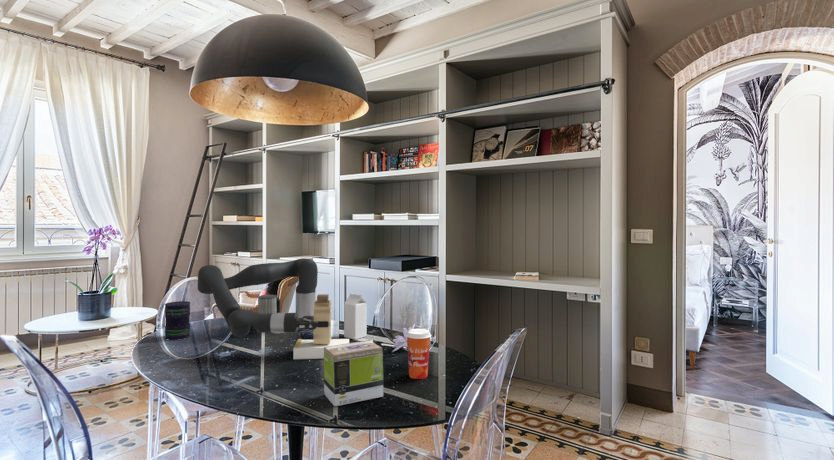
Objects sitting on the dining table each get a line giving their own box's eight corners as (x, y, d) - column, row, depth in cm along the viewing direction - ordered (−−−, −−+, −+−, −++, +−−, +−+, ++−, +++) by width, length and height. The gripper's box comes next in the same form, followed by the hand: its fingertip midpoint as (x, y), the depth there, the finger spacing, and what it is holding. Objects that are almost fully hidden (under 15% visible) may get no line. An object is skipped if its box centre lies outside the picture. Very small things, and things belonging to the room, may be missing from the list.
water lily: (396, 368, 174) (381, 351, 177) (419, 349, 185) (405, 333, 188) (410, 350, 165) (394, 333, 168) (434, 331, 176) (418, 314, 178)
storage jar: (162, 337, 193) (162, 302, 193) (186, 333, 199) (186, 300, 199) (168, 341, 185) (167, 306, 185) (193, 337, 192) (193, 303, 192)
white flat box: (298, 349, 175) (298, 339, 175) (349, 348, 177) (349, 338, 177) (293, 359, 163) (293, 347, 163) (348, 357, 165) (348, 346, 165)
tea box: (370, 386, 137) (370, 339, 137) (383, 397, 128) (384, 347, 128) (323, 395, 130) (323, 345, 130) (333, 407, 121) (333, 354, 121)
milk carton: (355, 340, 190) (355, 296, 190) (343, 337, 195) (344, 294, 194) (366, 336, 196) (366, 294, 196) (355, 334, 200) (355, 292, 200)
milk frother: (273, 328, 209) (273, 297, 209) (240, 328, 209) (240, 297, 209) (282, 322, 223) (282, 293, 223) (251, 322, 223) (251, 292, 223)
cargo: (318, 304, 172) (318, 294, 172) (328, 304, 172) (328, 294, 172) (316, 306, 168) (316, 296, 168) (327, 306, 168) (327, 296, 168)
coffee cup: (403, 379, 143) (404, 333, 143) (407, 371, 151) (408, 327, 151) (429, 381, 142) (430, 334, 141) (432, 372, 150) (432, 328, 150)
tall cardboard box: (315, 339, 173) (315, 300, 172) (330, 339, 173) (331, 300, 173) (313, 344, 167) (313, 303, 166) (329, 343, 167) (330, 303, 167)
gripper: (280, 317, 161) (327, 316, 163) (287, 309, 175) (330, 308, 177) (280, 337, 161) (327, 336, 163) (287, 328, 176) (330, 327, 177)
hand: (328, 322), depth 170 cm, fingers closed on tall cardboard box, 6 cm apart
